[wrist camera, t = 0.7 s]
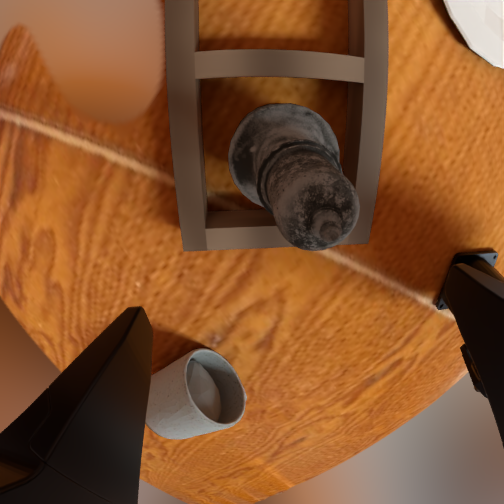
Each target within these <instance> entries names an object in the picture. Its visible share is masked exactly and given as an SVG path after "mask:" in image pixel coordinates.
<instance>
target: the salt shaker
mask: <svg viewBox="0 0 504 504" xmlns="http://www.w3.org/2000/svg"><path fill="white" fill-rule="evenodd" d="M228 160H229V170H230V173H231V175H232V178H233V181H234V183H235V184H236V186H237V187H238V188H239V190H240V191H241V193H242V194H243V195H244V196H246V197H247V198H248V199H250V200H251V201H252V202H253V203H256V204H258V205H260V206H262V207H264V208H265V209H266V210H267V211H268V212H269V213H270V214H272V215H273V216H274V218H275V221H276V224H277V227H278V230H279V231H280V232H281V234H282V235H283V237H284V238H285V239H286V240H287V241H288V242H290V243H291V244H292V245H293V246H295V247H298V248H300V249H302V250H309V251H318V250H324V249H327V248H330V247H333V246H335V245H337V244H338V243H340V242H342V241H343V240H344V239H345V238H346V237H347V236H348V235H349V234H350V233H351V231H352V230H353V228H354V227H355V225H356V222H357V220H358V217H359V210H360V204H359V198H358V195H357V192H356V190H355V188H354V186H353V184H352V183H351V182H350V181H349V180H348V179H347V178H346V177H345V176H344V175H343V173H342V168H341V164H340V162H339V147H338V142H337V138H336V136H335V134H334V132H333V130H332V129H331V127H330V125H329V124H328V123H327V122H326V121H325V120H324V119H323V118H322V117H321V116H320V115H319V114H317V113H316V112H314V111H312V110H310V109H308V108H307V107H304V106H300V105H296V104H291V103H286V104H268V105H265V106H262V107H258V108H256V109H255V110H253V111H252V112H250V113H249V114H247V116H246V117H245V118H244V119H243V120H242V121H241V122H240V124H239V126H238V128H237V130H236V132H235V134H234V136H233V138H232V140H231V143H230V148H229V153H228Z"/></svg>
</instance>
